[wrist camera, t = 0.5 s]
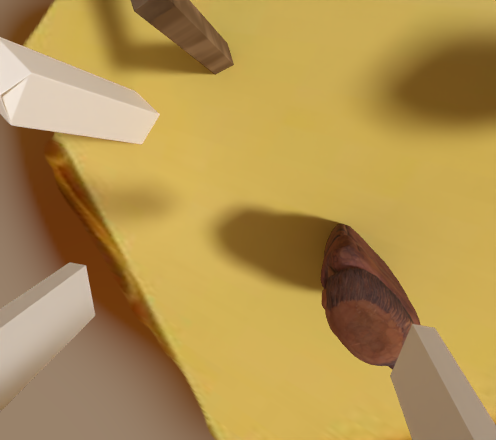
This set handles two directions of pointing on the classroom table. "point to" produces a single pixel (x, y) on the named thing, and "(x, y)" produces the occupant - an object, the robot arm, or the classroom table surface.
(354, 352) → the wooden figurine
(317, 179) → the classroom table surface
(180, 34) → the door frame
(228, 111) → the classroom table surface
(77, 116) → the milk
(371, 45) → the classroom table surface
